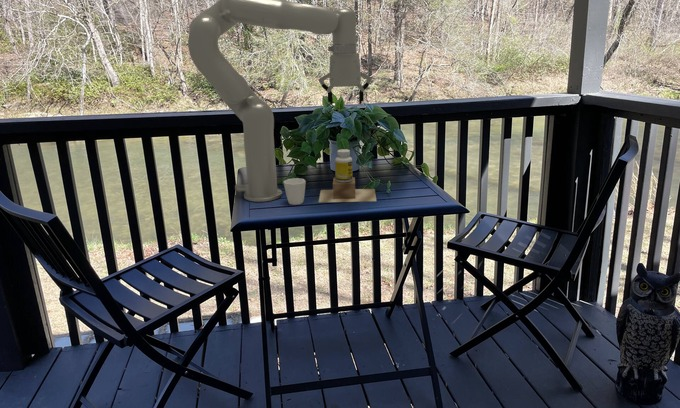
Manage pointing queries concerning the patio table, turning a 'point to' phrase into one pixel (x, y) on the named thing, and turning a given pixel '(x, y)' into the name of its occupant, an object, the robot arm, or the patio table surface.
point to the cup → (295, 190)
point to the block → (344, 189)
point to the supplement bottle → (343, 166)
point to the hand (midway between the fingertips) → (345, 103)
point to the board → (360, 196)
